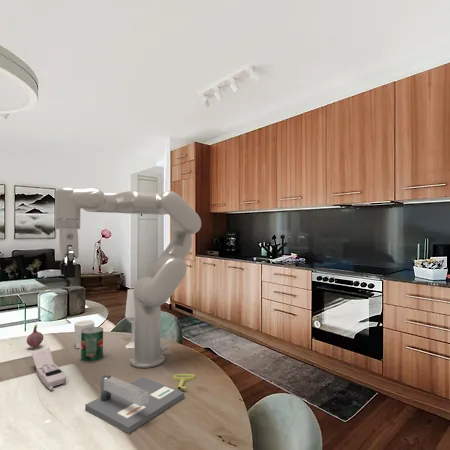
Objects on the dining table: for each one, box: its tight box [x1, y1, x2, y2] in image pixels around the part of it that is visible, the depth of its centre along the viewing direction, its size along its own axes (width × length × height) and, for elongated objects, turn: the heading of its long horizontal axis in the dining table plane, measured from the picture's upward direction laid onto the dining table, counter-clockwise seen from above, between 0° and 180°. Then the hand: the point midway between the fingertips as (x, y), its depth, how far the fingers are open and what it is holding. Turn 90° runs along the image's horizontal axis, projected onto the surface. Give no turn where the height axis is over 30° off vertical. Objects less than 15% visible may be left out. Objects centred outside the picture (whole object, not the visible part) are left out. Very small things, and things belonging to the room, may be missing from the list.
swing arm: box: [100, 374, 149, 406], centre depth 84 cm, size 3×17×6 cm, turn 56°
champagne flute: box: [124, 288, 135, 349], centre depth 134 cm, size 7×7×24 cm
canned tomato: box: [80, 326, 104, 364], centre depth 120 cm, size 8×8×11 cm
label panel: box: [84, 376, 185, 434], centre depth 88 cm, size 20×18×2 cm
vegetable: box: [26, 324, 44, 349], centre depth 131 cm, size 6×6×10 cm
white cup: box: [74, 319, 95, 350], centre depth 133 cm, size 8×8×10 cm
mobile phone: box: [31, 347, 67, 392], centre depth 105 cm, size 6×6×25 cm
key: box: [172, 373, 196, 391], centre depth 100 cm, size 7×12×2 cm, turn 17°
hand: (67, 276), depth 104 cm, fingers open, 9 cm apart
